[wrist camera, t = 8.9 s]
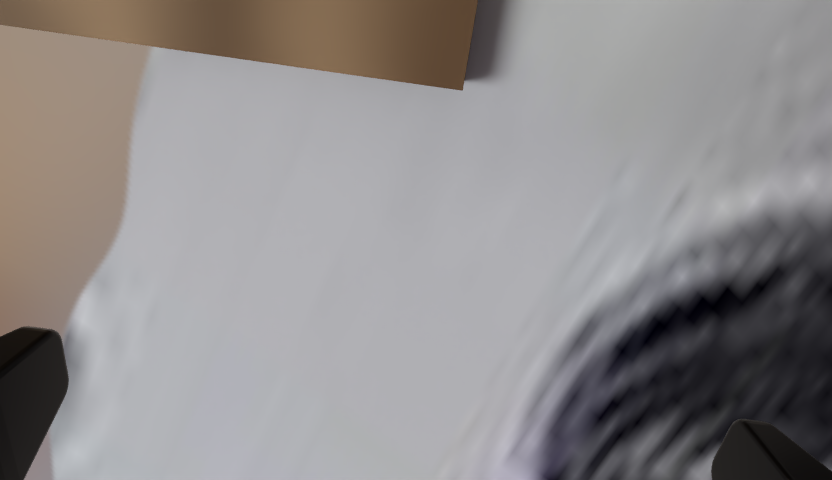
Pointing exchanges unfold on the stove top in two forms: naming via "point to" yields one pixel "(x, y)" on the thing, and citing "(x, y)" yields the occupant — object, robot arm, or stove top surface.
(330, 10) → the holder board
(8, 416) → the robot arm
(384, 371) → the stove top surface
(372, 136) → the stove top surface
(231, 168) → the stove top surface
